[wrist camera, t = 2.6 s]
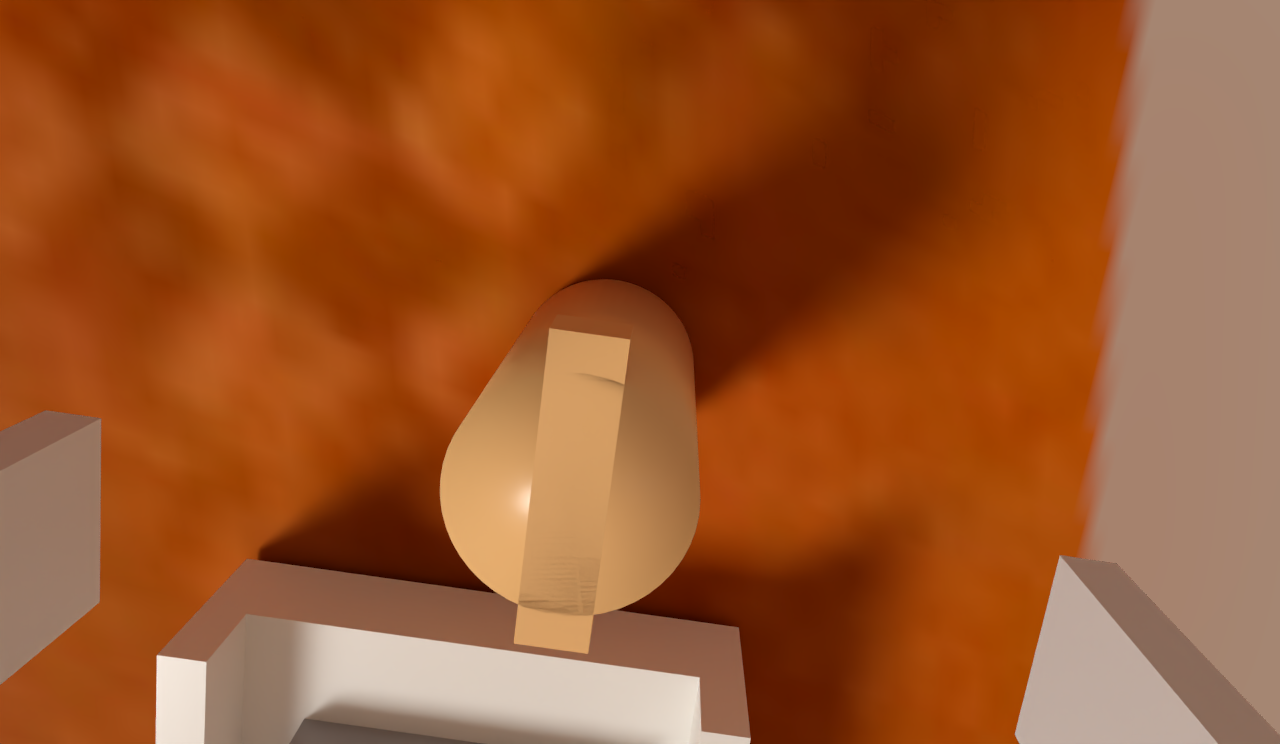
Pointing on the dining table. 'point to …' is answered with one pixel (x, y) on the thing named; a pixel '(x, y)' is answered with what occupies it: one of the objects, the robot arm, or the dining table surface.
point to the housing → (433, 670)
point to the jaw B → (579, 462)
